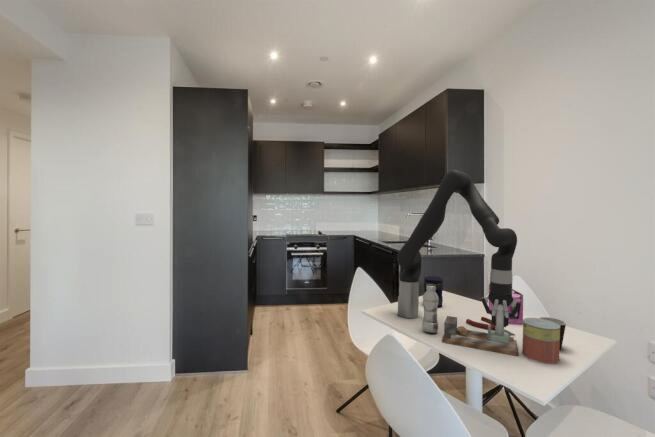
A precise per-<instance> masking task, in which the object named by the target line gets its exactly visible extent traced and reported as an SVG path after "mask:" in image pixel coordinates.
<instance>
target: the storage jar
mask: <svg viewBox="0 0 655 437" xmlns="http://www.w3.org/2000/svg"><path fill="white" fill-rule="evenodd" d="M423 279H424V281H423V288H424V291H423V292H424V293H425V292H426V291H427V289H426V287H427V284H432V285H435V286H436V288H435V289H436V290H435V292H436V293H437V295H438V298H439V301H438V307H437V309H442V308H443V289H444V281H443V280H444V279H443V278H442V277H440V276H429V275H428V276H424V277H423ZM424 293H423V294H424Z"/></svg>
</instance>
